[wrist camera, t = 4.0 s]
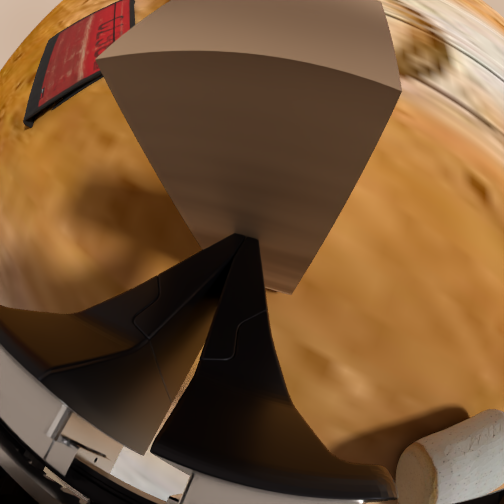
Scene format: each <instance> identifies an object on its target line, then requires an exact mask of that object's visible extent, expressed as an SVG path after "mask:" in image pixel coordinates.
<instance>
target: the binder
mask: <svg viewBox="0 0 504 504" xmlns="http://www.w3.org/2000/svg"><path fill="white" fill-rule="evenodd" d="M134 3H135V0H119V1H117V2H115V3H113V4H111V5H109V6H107V7H104V8H102V9H100V10H98V11H96V12H94V13H92V14H90V15H88V16H86V17H85V18H83V19H81V20H79V21H77V22H76V23H74V24H72V25H71V26H69V27H67V28H66V29H64V30H63V31H61V32H59V33H58V34H56V35H55V36H54V37H52V38H51V39H50V40H49V41H48V43H47V45H46V48H45V51H44V53H43V56H42V58H41V61H40V64H39V67H38V70H37V73H36V76H35V79H34V83H33V86H32V89H31V93H30V96H29V100H28V104H27V108H26V113H25V117H24V120H23V123H24V124H25V125H26V126H28V127H30V128H32V126H33V124H34V119H35V116H36V114H37V113H38V112H40V111H41V110H42V109H44V108H45V107H46V108H49V107H50V106H51V105H52V104H53V103H54V102H56V101H57V100H58V99H60V98H61V97H62V98H63V99H62V100H61V101H60V102H59V103H57V104H56V105H55V106H54V107H53V109H55V108H56V107H58V106H59V105H61V104H62V103H64V102H65V101H66V100H68V99H69V98H71V97H72V96H74V95H75V94H77V93H78V92H80V91H81V90H83V89H84V88H86V87H88V86H89V85H91V84H92V83H94V82H96V81H97V80H99V79H101V78H102V77H104V76H103V74H102V72H101V70H100V68H99V66H98V64H97V62H96V60H95V59H96V58H97V57H98V56H99V55H100V54H101V53H102V52H104V51H105V50H106V49H107V48H108V47H109V46H110V45H111V44H113V43H114V42H115V41H116V40H117V39H118V38H120V37H121V36H122V35H123V34H125V33H126V32H127V31H128V30H130V29H131V28H132V27H133V26H135V14H134ZM53 109H52V110H53ZM52 110H51V111H52Z"/></svg>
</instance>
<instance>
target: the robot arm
mask: <svg viewBox="0 0 504 504" xmlns="http://www.w3.org/2000/svg"><path fill="white" fill-rule="evenodd" d="M204 343H205V344H204ZM203 345H204V347H203V350H202V353H201V357H200V361H199V363H198V366H197V369H196V371H195V374H194V376H193V378H192V380H191V382H190V383H189V385H188V387H187V388H186V390H185V392H184V393H183V395H182V396H181V398H180V400H179V401H178V403H177V405H176V406H175V408H174V409H173V411H172V413H171V414H170V416H169V417H168V419H167V421H166V422H165V424H164V425H163V427H162V429H161V430H160V432H159V433H158V435H157V437H156V438H155V440H154V442H153V444H152V447H151V449H150V452H151V453H152V454H154V455H155V456H157V457H158V458H160V459H162V460H163V461H165V462H167V463H168V464H170V465H172V466H174V467H175V468H177V469H179V470H181V471H182V472H184V473H186V474H188V475H190V477H189V479H188V482H187V484H186V487H185V489H184V491H183V494H177V495H172V496H169V498H168V500H167V502H166V501H163V500H161V499H158V498H156V497H154V496H152V495H149V494H147V493H145V492H143V491H141V490H139V489H137V488H135V487H133V486H131V485H129V484H127V483H125V482H123V481H121V480H120V479H118V478H116V477H114V476H112V475H111V474H110V472H111V470H112V468H113V466H114V464H115V462H116V460H117V458H118V456H119V454H120V452H121V450H122V448H123V446H125V447H127V448H129V449H131V450H133V451H135V452H136V453H138V454H140V455H143V456H144V454H145V452H146V451H147V449H148V447H149V445H150V443H151V441H152V439H153V438H154V436H155V434H156V432H157V430H158V428H159V426H160V425H161V423H162V421H163V419H164V417H165V415H166V413H167V412H168V410H169V408H170V406H171V403H172V402H173V400H174V398H175V397H176V395H177V393H178V391H179V389H180V387H181V385H182V384H183V382H184V380H185V378H186V376H187V374H188V372H189V371H190V369H191V367H192V365H193V363H194V361H195V359H196V358H197V356H198V354H199V352H200V350H201V348H202V346H203ZM45 466H46V467H47V468H48V469H49V470H51V471H52V472H53V473H54V474H56V475H57V476H58V477H59V478H61V479H62V480H63V481H65V482H66V483H67V484H69V485H70V486H72V487H73V488H74V489H76V490H77V491H79V492H80V493H82V494H83V496H84V497H86V498H89V500H88V502H86V501H85V500H83V499H82V498H80V497H79V496H77V495H76V494H75V493H73V492H72V491H70V490H69V489H68V488H62V487H63V486H61V485H60V484H59V483H57V482H56V481H54V480H53V479H51V478H50V477H48V476H46V473H45V472H44V471H43V470H44V467H45ZM395 499H398V490H397V487H396V484H395V482H394V480H393V478H392V476H391V475H390V473H389V471H388V470H387V468H386V467H384V466H380V465H371V464H355V463H349V462H346V461H343V460H341V459H339V458H337V457H336V456H334V455H333V454H332V453H331V452H330V451H329V450H328V449H327V448H326V447H325V446H324V444H323V443H322V442H321V441H320V439H319V438H318V437H317V435H316V434H315V433H314V432H313V430H312V429H311V428H310V426H309V425H308V424H307V423H306V421H305V420H304V419H303V417H302V416H301V415H300V413H299V412H298V411H297V409H296V408H295V406H294V405H293V402H292V400H291V398H290V396H289V393H288V390H287V387H286V384H285V381H284V377H283V374H282V371H281V367H280V364H279V360H278V357H277V354H276V350H275V346H274V342H273V338H272V334H271V328H270V322H269V314H268V307H267V299H266V291H265V284H264V276H263V268H262V260H261V253H260V245H259V240H258V239H255V238H251V237H246V236H244V235H241V234H237V233H233V234H231V235H230V236H228V237H226V238H224V239H222V240H220V241H218V242H217V243H215V244H213V245H211V246H209V247H207V248H205V249H204V250H202V251H200V252H198V253H196V254H194V255H193V256H191V257H189V258H187V259H185V260H184V261H182V262H180V263H178V264H176V265H175V266H173V267H171V268H169V269H167V270H166V271H164V272H162V273H160V274H159V275H158V276H155V277H153V278H151V279H149V280H148V281H146V282H144V283H142V284H140V285H138V286H136V287H135V288H133V289H130V290H128V291H126V292H124V293H122V294H120V295H118V296H115V297H113V298H111V299H109V300H106V301H104V302H102V303H100V304H98V305H95V306H93V307H91V308H89V309H86V310H84V311H81V312H78V313H73V314H59V313H48V312H38V311H30V310H21V309H14V308H8V307H5V306H2V305H0V504H366V502H379V501H388V500H395ZM453 504H504V489H501V490H498V491H495V492H492V493H489V494H486V495H483V496H480V497H476V498H473V499H469V500H465V501H461V502H457V503H453Z"/></svg>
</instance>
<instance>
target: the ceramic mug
mask: <svg viewBox="0 0 504 504" xmlns="http://www.w3.org/2000/svg"><path fill="white" fill-rule="evenodd" d="M503 483H504V412H502V411H500V410H496V409H488V410H485V411H483V412H481V413H479V414H477V415H475V416H473V417H471V418H469V419H466V420H464V421H462V422H460V423H458V424H456V425H454V426H451V427H449V428H447V429H445V430H442V431H439V432H436V433H433V434H431V435H428V436H426V437H423V438H421V439H419V440H417V441H415V442H414V443H412V444H411V445H409V446H408V447H407V448H406V449H405V450H404V451H403V453H402V455H401V456H400V459H399V461H398V465H397V470H396V487H397V490H398V503H399V504H453V503H457V502H461V501H465V500H469V499H473V498H476V497H480V496H483V495H486V494H488V493H489V492H491V491H493V490H495V489H496V488H498V487H499V486H501V485H502V484H503Z"/></svg>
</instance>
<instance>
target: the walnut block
mask: <svg viewBox="0 0 504 504" xmlns="http://www.w3.org/2000/svg"><path fill="white" fill-rule="evenodd" d="M95 60H96V62H97V64H98V66H99V68H100V70H101V72H102V74H103V76H104V78H105V80H106V82H107V84H108V86H109V88H110V90H111V92H112V94H113V96H114V98H115V100H116V102H117V104H118V105H119V107H120V109H121V111H122V113H123V115H124V117H125V119H126V120H127V122H128V124H129V126H130V128H131V130H132V131H133V133H134V135H135V137H136V139H137V140H138V142H139V144H140V146H141V148H142V149H143V151H144V153H145V155H146V156H147V158H148V160H149V162H150V163H151V165H152V167H153V169H154V170H155V172H156V174H157V176H158V177H159V179H160V181H161V182H162V184H163V186H164V188H165V189H166V191H167V193H168V194H169V196H170V198H171V199H172V201H173V203H174V204H175V206H176V208H177V209H178V211H179V213H180V214H181V216H182V218H183V219H184V221H185V223H186V224H187V226H188V227H189V229H190V231H191V232H192V234H193V236H194V237H195V239H196V240H197V242H198V244H199V245H200V247H201V248H202V250H204V249H205V248H207V247H209V246H211V245H213V244H215V243H217V242H218V241H220V240H222V239H224V238H226V237H228V236H230V235H231V234H233V233H237V234H241V235H244V236H246V237H251V238H255V239H258V240H259V245H260V253H261V260H262V268H263V276H264V284H265V288H268V289H271V290H275V291H278V292H282V293H285V294H289V295H291V294H292V293H293V291H294V290H295V288H296V286H297V285H298V283H299V282H300V280H301V278H302V277H303V275H304V274H305V272H306V270H307V269H308V267H309V265H310V264H311V262H312V260H313V259H314V257H315V255H316V254H317V252H318V250H319V249H320V247H321V245H322V244H323V242H324V240H325V238H326V237H327V235H328V233H329V232H330V230H331V228H332V226H333V225H334V223H335V221H336V219H337V218H338V216H339V214H340V212H341V210H342V209H343V207H344V205H345V203H346V201H347V200H348V198H349V196H350V194H351V192H352V191H353V189H354V187H355V185H356V183H357V181H358V179H359V177H360V176H361V174H362V172H363V170H364V168H365V166H366V164H367V162H368V160H369V158H370V156H371V154H372V152H373V151H374V149H375V147H376V145H377V143H378V141H379V139H380V137H381V134H382V132H383V130H384V128H385V126H386V124H387V122H388V120H389V118H390V116H391V114H392V112H393V109H394V107H395V105H396V103H397V101H398V99H399V96H400V94H401V92H402V89H401V82H400V76H399V71H398V65H397V60H396V56H395V51H394V47H393V42H392V38H391V34H390V30H389V27H388V23H387V19H386V16H385V13H384V9H383V6H382V3H381V2H380V1H377V0H171V1H169V2H168V3H166V4H165V5H163V6H161V7H160V8H158V9H157V10H156V11H154V12H153V13H151V14H150V15H148V16H147V17H145V18H144V19H143V20H141V21H140V22H139V23H137V24H136V25H135V26H133V27H132V28H131V29H130V30H128V31H127V32H126V33H125V34H123V35H122V36H121V37H120V38H118V39H117V40H116V41H115V42H114V43H113V44H111V45H110V46H109V47H108V48H107V49H106V50H105V51H104V52H102V53H101V54H100V55H99V56H98V57H97V58H96V59H95Z"/></svg>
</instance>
